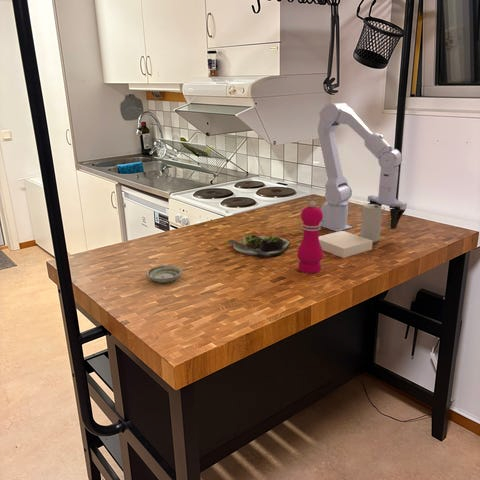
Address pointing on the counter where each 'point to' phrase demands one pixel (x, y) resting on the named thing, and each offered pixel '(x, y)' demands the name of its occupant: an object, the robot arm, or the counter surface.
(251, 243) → the salad plate
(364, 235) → the beverage can
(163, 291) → the counter surface
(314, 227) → the pepper mill
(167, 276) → the saucer
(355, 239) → the block
